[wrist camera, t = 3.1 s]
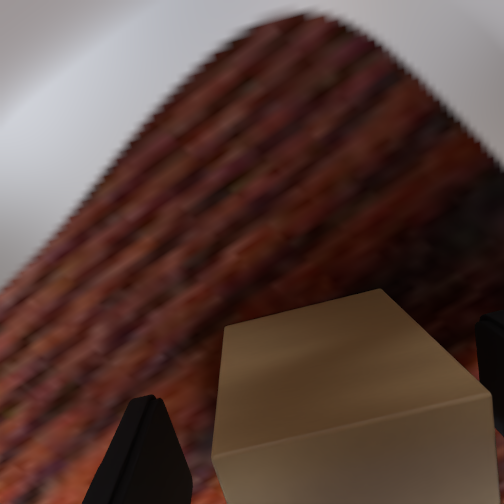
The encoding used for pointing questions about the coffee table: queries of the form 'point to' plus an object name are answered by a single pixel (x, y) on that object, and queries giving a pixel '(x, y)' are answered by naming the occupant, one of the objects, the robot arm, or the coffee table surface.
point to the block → (349, 411)
